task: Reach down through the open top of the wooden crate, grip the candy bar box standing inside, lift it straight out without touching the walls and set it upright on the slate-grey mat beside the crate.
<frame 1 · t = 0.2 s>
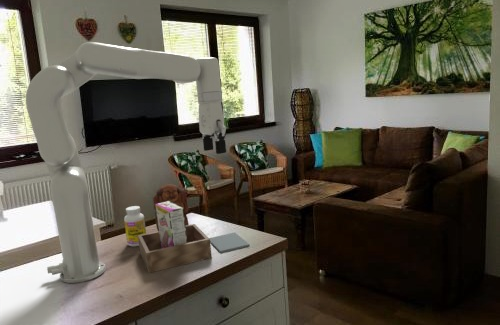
hand: (214, 151, 134), 31 cm above the kitchen island, tool pointing down, fingers open, 9 cm apart
candy bar box: (174, 255, 131), resting in open wooden crate
wooden figurine: (174, 232, 153), on the kitchen island
grey mat: (228, 242, 138), on the kitchen island
supplement bottle: (137, 244, 144), on the kitchen island
open wooden crate: (174, 255, 131), on the kitchen island
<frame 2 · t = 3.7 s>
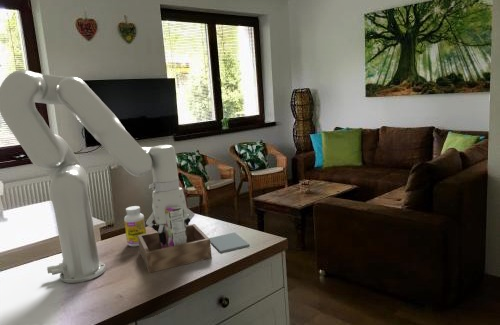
hand: (173, 240, 130), 5 cm above the kitchen island, tool pointing down, fingers closed on candy bar box, 5 cm apart
candy bar box: (174, 255, 131), resting in open wooden crate, touching gripper
everything else where it was.
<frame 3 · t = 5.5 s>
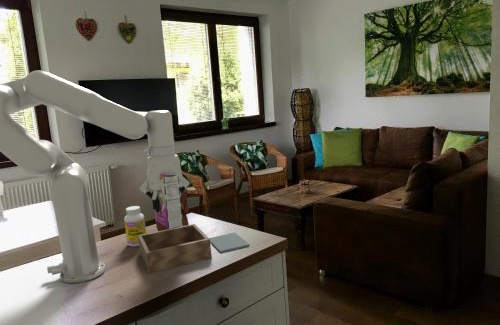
hand: (167, 209, 128), 15 cm above the kitchen island, tool pointing down, fingers closed on candy bar box, 5 cm apart
candy bar box: (168, 224, 129), point 10 cm above the kitchen island, touching gripper
everything else where it was.
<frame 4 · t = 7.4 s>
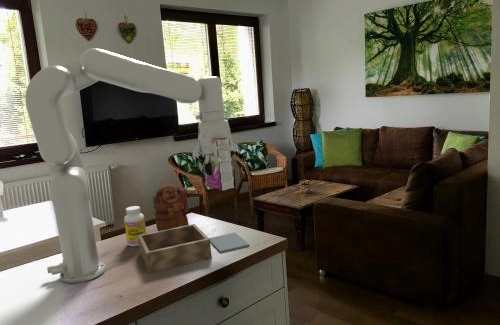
hand: (218, 172, 133), 24 cm above the kitchen island, tool pointing down, fingers closed on candy bar box, 5 cm apart
candy bar box: (219, 187, 134), point 19 cm above the kitchen island, touching gripper
everything else where it was.
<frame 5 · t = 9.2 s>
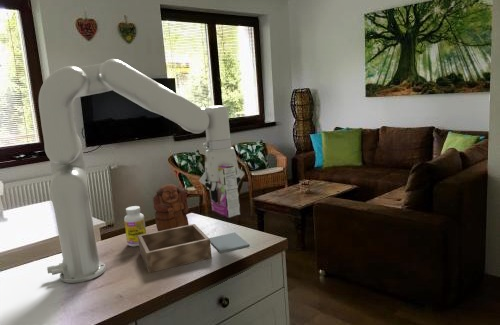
hand: (224, 199, 135), 15 cm above the kitchen island, tool pointing down, fingers closed on candy bar box, 5 cm apart
candy bar box: (225, 213, 136), point 10 cm above the kitchen island, touching gripper
everything else where it was.
when the fingers open (7 cm above the kitchen island, at t = 11.1 s): candy bar box drops 2 cm, resting on grey mat.
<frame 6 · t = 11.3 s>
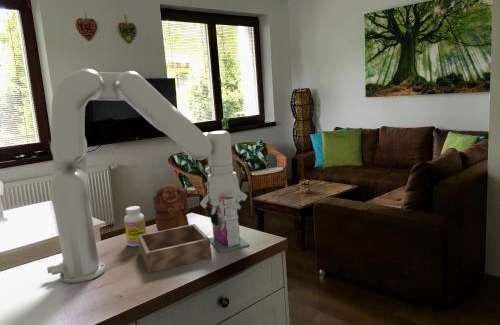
hand: (226, 222, 137), 7 cm above the kitchen island, tool pointing down, fingers open, 7 cm apart
candy bar box: (226, 241, 138), resting on grey mat
everything else where it was.
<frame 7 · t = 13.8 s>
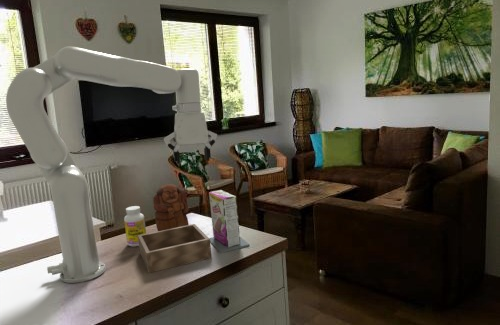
hand: (192, 161, 134), 28 cm above the kitchen island, tool pointing down, fingers open, 9 cm apart
nothing on the kitchen island moved.
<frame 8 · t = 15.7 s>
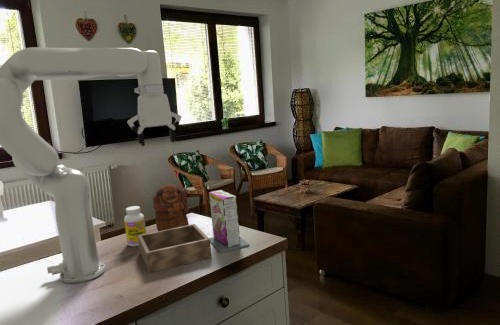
hand: (157, 143, 136), 34 cm above the kitchen island, tool pointing down, fingers open, 9 cm apart
nothing on the kitchen island moved.
at the end: candy bar box inside the target area on the grey mat (0.5 cm from its centre), point 0.4 cm above the grey mat's base; candy bar box tilted 0°; candy bar box touching grey mat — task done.
